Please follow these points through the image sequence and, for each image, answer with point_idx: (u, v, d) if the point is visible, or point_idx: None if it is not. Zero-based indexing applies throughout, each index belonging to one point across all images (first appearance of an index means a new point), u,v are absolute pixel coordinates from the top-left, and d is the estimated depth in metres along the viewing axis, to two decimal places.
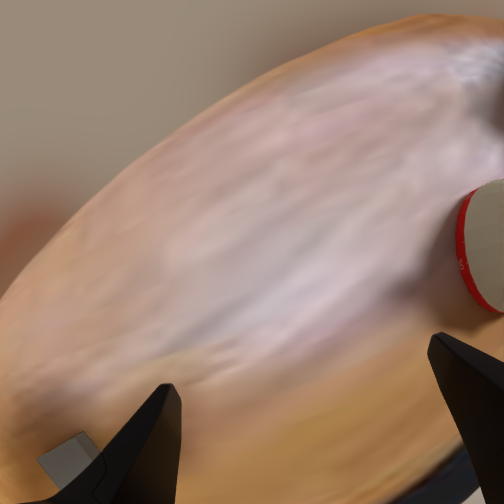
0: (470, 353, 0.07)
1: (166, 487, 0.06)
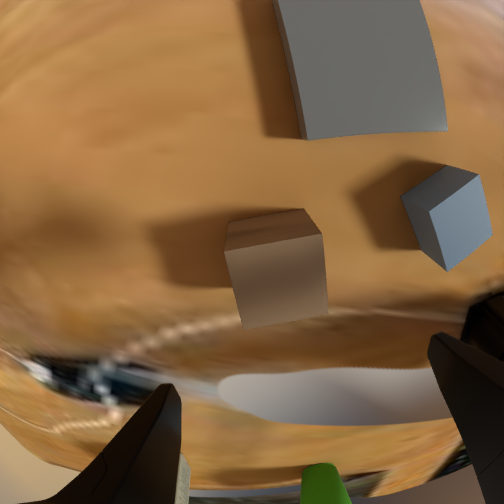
0: (470, 353, 0.07)
1: (166, 487, 0.06)
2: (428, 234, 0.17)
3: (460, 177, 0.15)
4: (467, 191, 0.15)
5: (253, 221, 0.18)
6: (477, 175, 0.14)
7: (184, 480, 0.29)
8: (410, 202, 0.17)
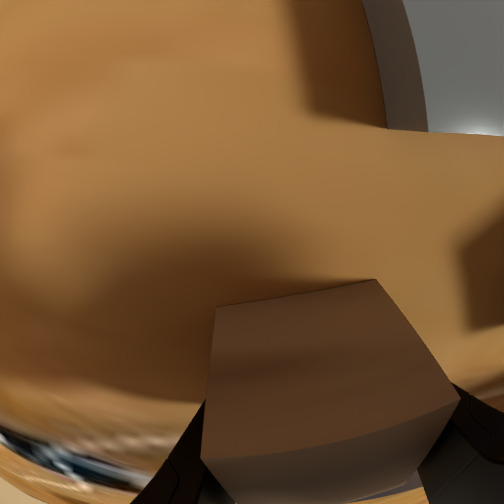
0: None
1: None
2: None
3: None
4: None
5: (272, 318, 0.08)
6: None
7: None
8: None
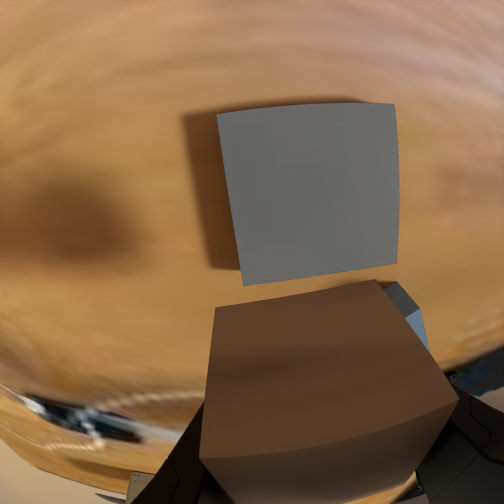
0: None
1: None
2: None
3: (401, 306, 0.18)
4: None
5: (271, 319, 0.08)
6: (418, 309, 0.17)
7: None
8: None
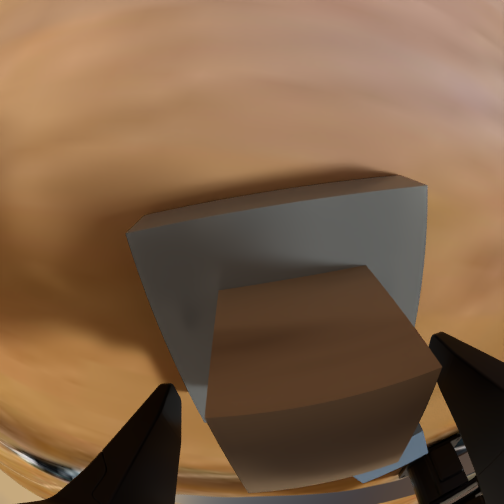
0: (470, 353, 0.07)
1: (166, 487, 0.06)
2: None
3: None
4: None
5: (270, 299, 0.09)
6: (420, 431, 0.12)
7: None
8: None
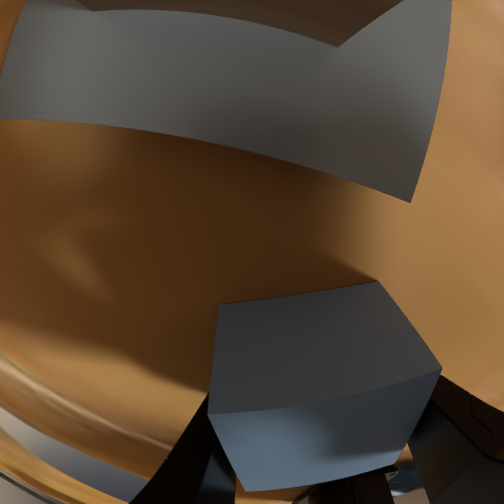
0: None
1: (229, 489, 0.06)
2: None
3: (386, 346, 0.06)
4: (379, 402, 0.05)
5: None
6: (436, 369, 0.05)
7: None
8: (215, 341, 0.07)
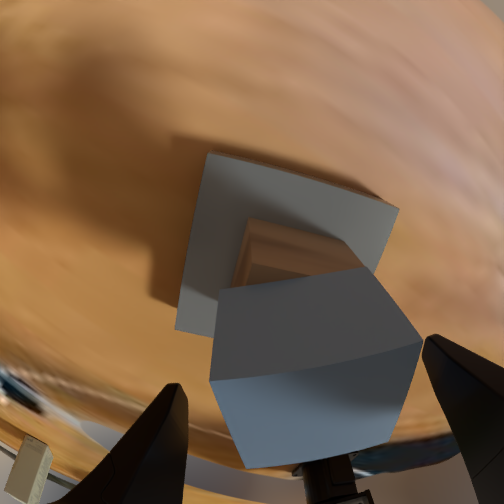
0: (464, 355, 0.07)
1: (174, 488, 0.06)
2: None
3: (371, 322, 0.07)
4: (365, 371, 0.06)
5: (284, 232, 0.13)
6: (417, 341, 0.06)
7: (45, 466, 0.26)
8: (216, 320, 0.08)
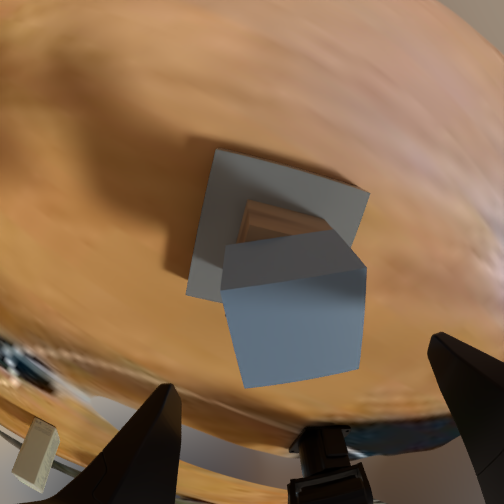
0: (470, 353, 0.07)
1: (166, 487, 0.06)
2: None
3: (331, 258, 0.11)
4: (326, 288, 0.10)
5: (274, 209, 0.17)
6: (362, 268, 0.10)
7: (52, 449, 0.30)
8: (224, 262, 0.12)
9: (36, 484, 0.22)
